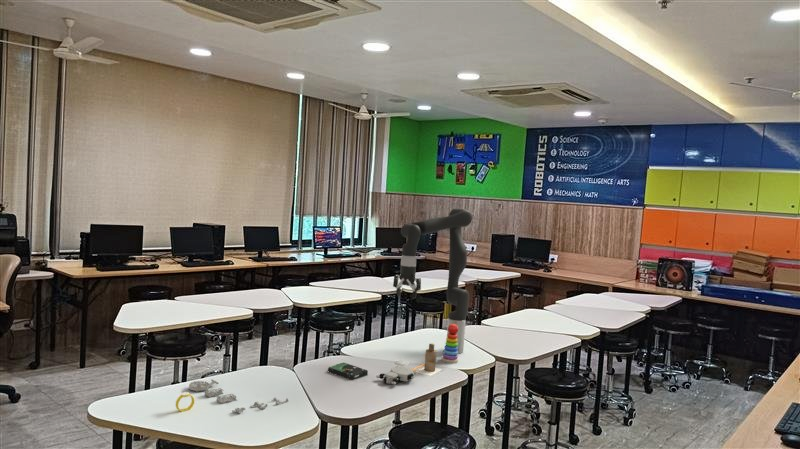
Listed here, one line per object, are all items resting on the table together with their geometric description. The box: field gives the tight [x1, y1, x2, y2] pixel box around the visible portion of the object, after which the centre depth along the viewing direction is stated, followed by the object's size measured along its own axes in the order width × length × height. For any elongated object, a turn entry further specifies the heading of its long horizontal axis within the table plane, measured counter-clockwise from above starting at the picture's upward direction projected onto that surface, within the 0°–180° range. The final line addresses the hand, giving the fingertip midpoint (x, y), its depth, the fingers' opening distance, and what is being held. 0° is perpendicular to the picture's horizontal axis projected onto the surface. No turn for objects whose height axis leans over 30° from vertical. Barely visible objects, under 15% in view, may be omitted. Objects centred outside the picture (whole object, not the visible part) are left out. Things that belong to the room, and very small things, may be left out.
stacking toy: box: [441, 324, 459, 364], centre depth 262 cm, size 8×8×19 cm
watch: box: [175, 391, 195, 412], centre depth 184 cm, size 6×3×6 cm, turn 136°
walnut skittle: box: [423, 343, 437, 372], centre depth 245 cm, size 5×5×12 cm
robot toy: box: [375, 365, 419, 385], centre depth 229 cm, size 12×4×15 cm
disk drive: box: [327, 362, 369, 381], centre depth 234 cm, size 10×3×15 cm
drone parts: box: [188, 379, 289, 414], centre depth 201 cm, size 23×35×3 cm, turn 49°
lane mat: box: [393, 360, 443, 377], centre depth 248 cm, size 15×25×1 cm, turn 60°
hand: (406, 297), depth 262 cm, fingers open, 8 cm apart
